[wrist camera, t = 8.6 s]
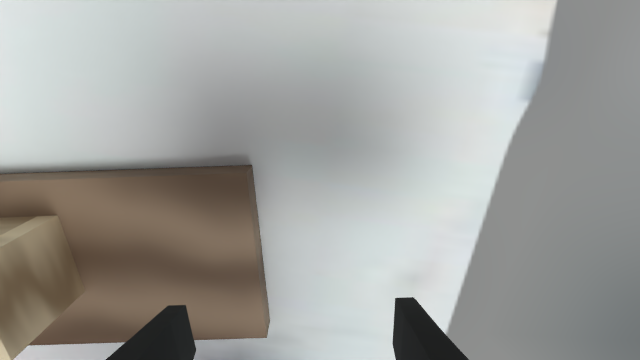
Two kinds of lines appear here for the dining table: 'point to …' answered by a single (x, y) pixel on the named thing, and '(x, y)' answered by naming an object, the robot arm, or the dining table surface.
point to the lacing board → (152, 248)
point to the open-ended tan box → (33, 279)
